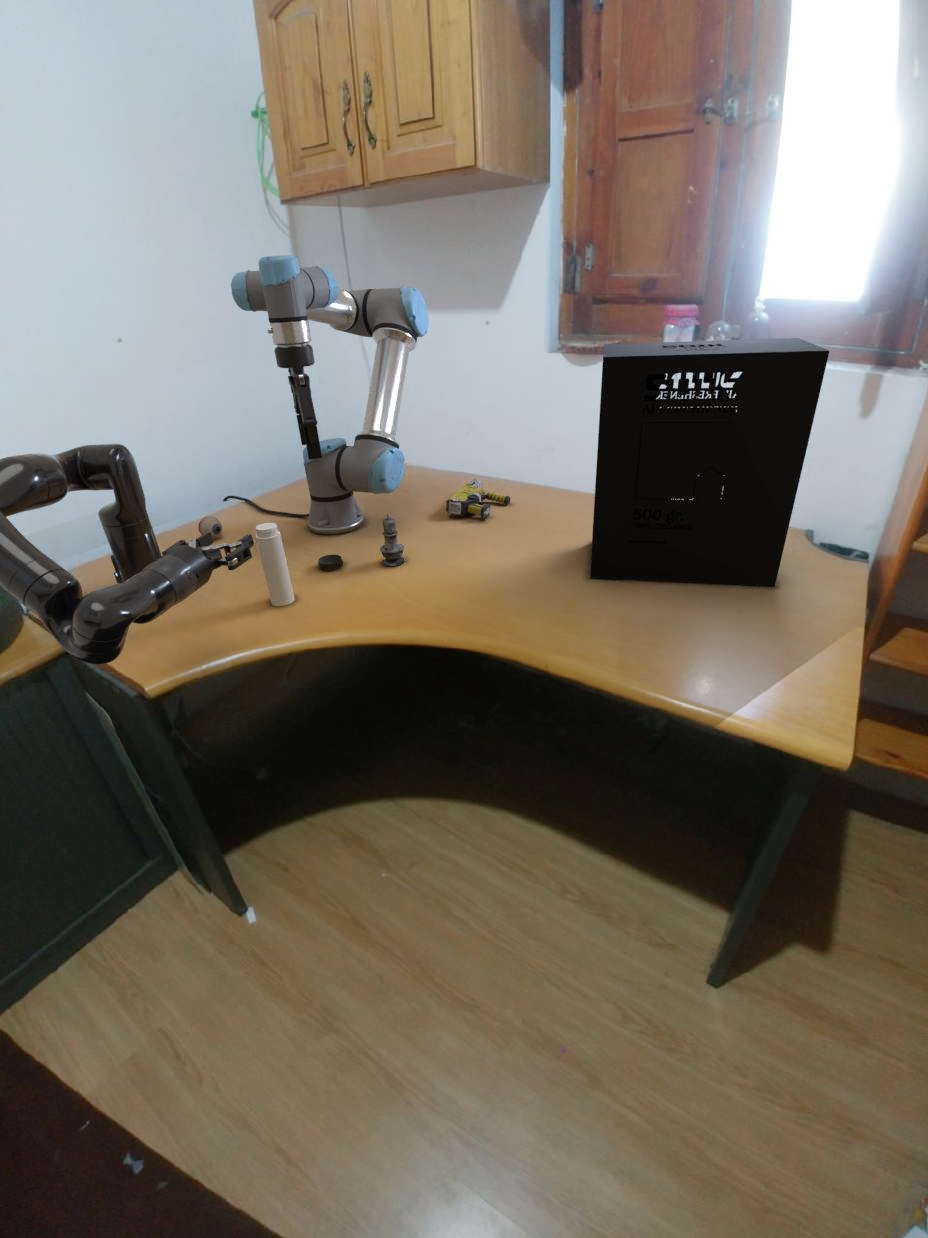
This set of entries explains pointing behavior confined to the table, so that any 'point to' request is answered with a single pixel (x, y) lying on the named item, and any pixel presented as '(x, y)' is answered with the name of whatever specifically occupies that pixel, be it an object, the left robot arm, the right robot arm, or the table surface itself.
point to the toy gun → (473, 500)
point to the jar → (274, 564)
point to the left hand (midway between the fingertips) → (230, 538)
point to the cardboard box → (701, 458)
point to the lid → (330, 562)
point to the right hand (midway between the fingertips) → (311, 451)
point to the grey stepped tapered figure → (391, 544)
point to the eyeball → (210, 526)
